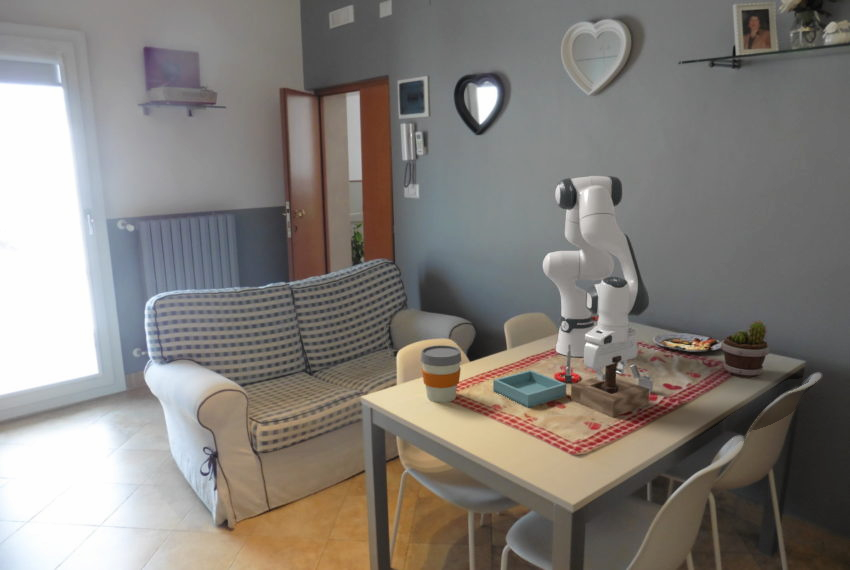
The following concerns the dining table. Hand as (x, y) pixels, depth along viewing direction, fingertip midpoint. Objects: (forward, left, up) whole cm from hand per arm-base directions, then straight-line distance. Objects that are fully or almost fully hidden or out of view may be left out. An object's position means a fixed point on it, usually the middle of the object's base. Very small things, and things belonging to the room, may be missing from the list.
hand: (610, 376), depth 182 cm
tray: (+15, -19, -8) cm, 26 cm away
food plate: (-70, -20, -9) cm, 73 cm away
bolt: (0, 0, -8) cm, 8 cm away
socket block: (0, 0, -8) cm, 8 cm away
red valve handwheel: (-5, -22, -8) cm, 24 cm away
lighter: (-16, -1, -8) cm, 18 cm away
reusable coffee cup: (+39, -33, -8) cm, 52 cm away
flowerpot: (-57, +9, -8) cm, 58 cm away
